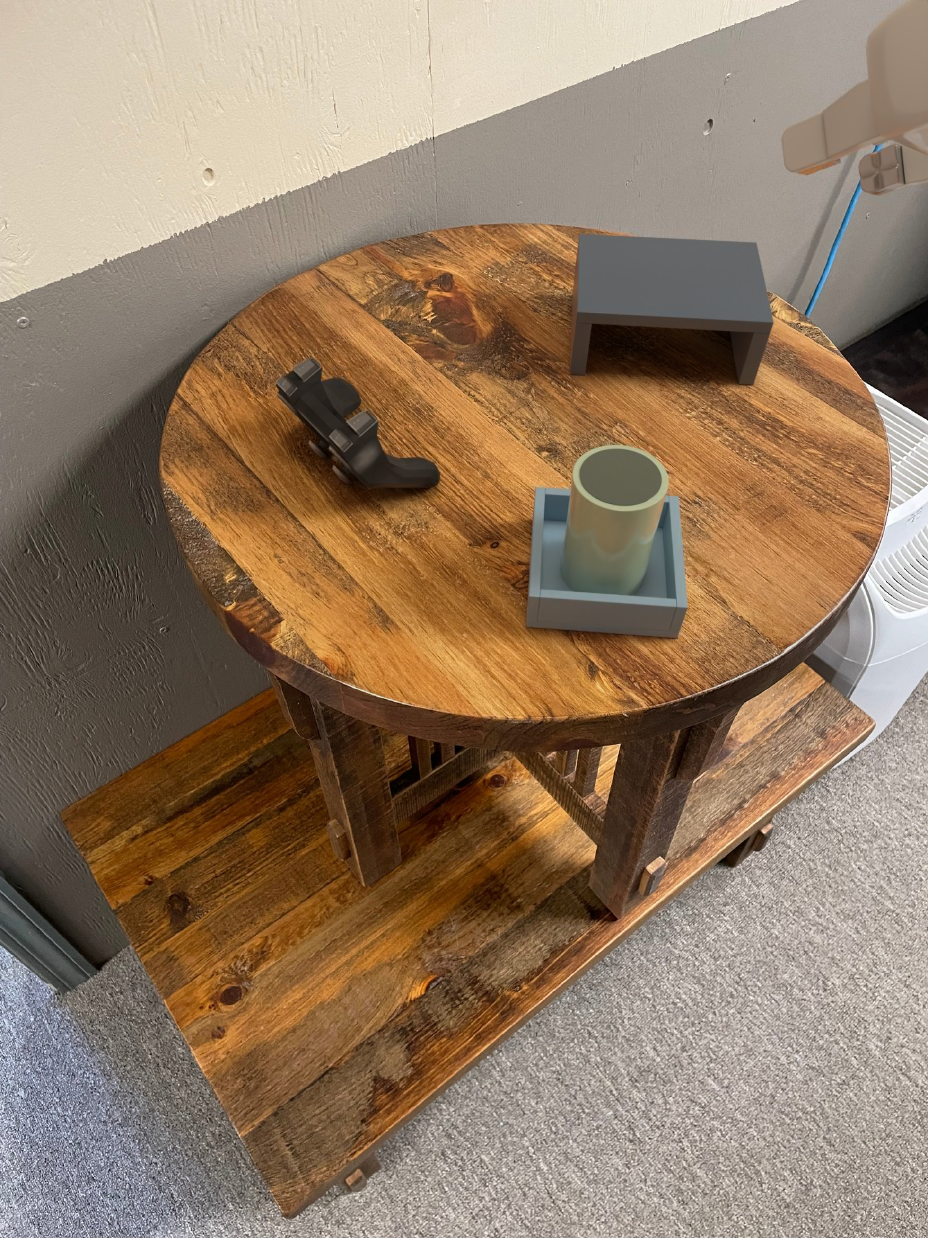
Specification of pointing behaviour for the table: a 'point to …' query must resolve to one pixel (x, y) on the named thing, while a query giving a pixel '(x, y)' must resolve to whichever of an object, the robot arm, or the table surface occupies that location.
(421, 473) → the game controller
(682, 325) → the shelf
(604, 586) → the cup
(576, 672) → the table surface
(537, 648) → the table surface
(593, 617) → the open bin
